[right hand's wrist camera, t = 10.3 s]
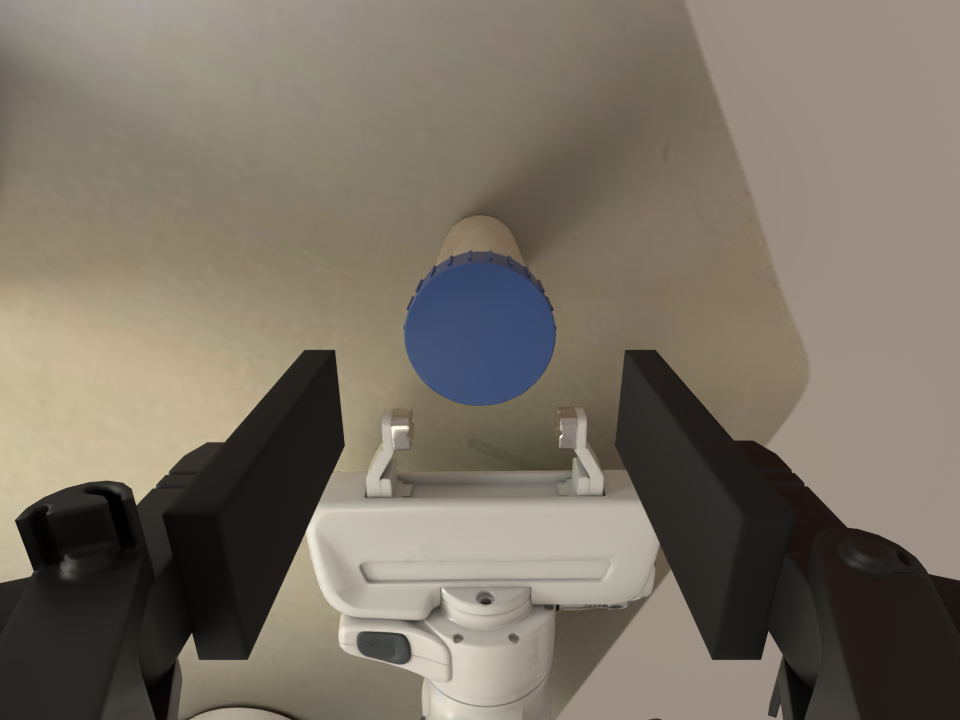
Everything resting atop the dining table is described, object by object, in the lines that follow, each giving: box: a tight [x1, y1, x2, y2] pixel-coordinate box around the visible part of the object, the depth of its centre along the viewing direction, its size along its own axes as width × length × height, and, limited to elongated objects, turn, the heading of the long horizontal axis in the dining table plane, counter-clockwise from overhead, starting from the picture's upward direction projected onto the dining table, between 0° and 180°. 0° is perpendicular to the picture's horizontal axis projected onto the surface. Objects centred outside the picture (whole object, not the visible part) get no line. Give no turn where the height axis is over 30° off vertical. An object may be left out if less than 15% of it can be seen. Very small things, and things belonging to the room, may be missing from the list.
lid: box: [404, 250, 556, 406], centre depth 20 cm, size 5×5×2 cm
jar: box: [435, 215, 525, 266], centre depth 26 cm, size 5×5×15 cm
